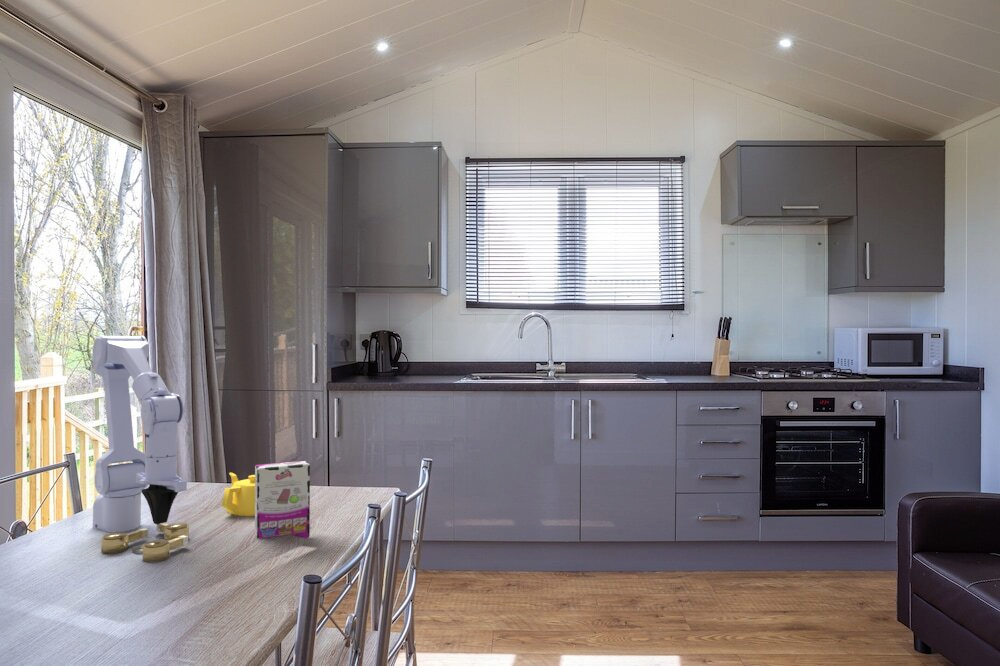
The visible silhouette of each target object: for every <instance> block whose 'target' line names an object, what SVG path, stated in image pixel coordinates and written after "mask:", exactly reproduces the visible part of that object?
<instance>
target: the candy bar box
mask: <svg viewBox="0 0 1000 666" xmlns="http://www.w3.org/2000/svg"><path fill="white" fill-rule="evenodd" d="M254 475H255V516H254V533H255V536H256V538H257V539H261V538H269V537H270V538H271V537H278V536H285V535H287V536H288V535H292V537H297V538H304V539H308V538H310V532H311V531H310V530H311V529H310V528H311V527H310V525H311V524H310V523H311V522H310V521H311V519H310V518H311V517H310V516H311V512H310V511H311V509H310V508H311V504H310V499H311V498H310V497H311V495H310V494H311V490H310V489H311V478H310V477H311V464H310V463H309V462H308V461H307V460H300V461H299V460H298V461H286V462H278V463H277V462H276V463H264V464H263V463H262V464H255V466H254Z"/></svg>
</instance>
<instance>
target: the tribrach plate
mask: <svg viewBox="0 0 1000 666" xmlns="http://www.w3.org/2000/svg"><path fill="white" fill-rule="evenodd" d="M143 545H144V543H142V544H139V545H136V546H134V547H133V548H132V550H131V551H132V553H133V554H135V555H142V549H143Z"/></svg>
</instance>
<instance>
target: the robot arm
mask: <svg viewBox="0 0 1000 666" xmlns="http://www.w3.org/2000/svg"><path fill="white" fill-rule="evenodd" d="M149 352H150V345H149V340H147V338H146V336H144V335H137V336H135V335H103V334H100V335H98V336H97V337H96V338H95V340H94V341H93V346H92V360H93V361H92V362H93V369H94V374H95V375H97V376H100V377H101V378H102V383H103V387H104V388H103V389H104V401H105V411H106V412H105V413H106V414H105V415H106V425H107V426H106V427H107V440H108V450H107V452H104V454H103V455H101V457H99V458H98V460H96V462H95V473H94V487H95V491H96V492H97V493H98V495H97V497H96V498H95V500H94V501H93V505H92V528H93V529H96V530H102V531H104V532H107V533H108V532H109V533H113V532H127V531H132V530H135V529H138V528H140V527H141V524H142V520H141V519H142V495H143V496H144V498H145V500H146V501H147V505H148V507H149V510H150V511H149V512H150V513H151V514H150V515H151V519H152V522H153V524H155V525H157V524H161V523H165V522H166V523H168V520H169V516H170V513H171V508H172V506H173V503H174V501H175V499H176V497H177V495H178V494H179V493H180V492H185V491H188V487H187V485H188V481H187V480H186V479H182V477H180V476H179V475H178V426H179V425H178V423H180V422H181V421H182V420H183V416H184V404H183V403H184V402H183V401H182V398H181V396H180V394H178V393H177V394H176V393H174V392H171V391H170V390H169V389H168V387H167V386H166V384H165V381H164V380H163V379H162V377H161V376H160V374H159V373H157V372H152V369H151V367H150V363H149V361H148V357H149V355H150V354H149ZM130 377H131V378H132V379H133V381H132V383H131V388H132V390H133V393H134V395H135V396H136V398H137V399H138V402H139V404H140V406H141V407H140V419H141V422H142V432H143V434H145V446H144V447H145V453H144V452H143V451H141V450H139V449H137V448H136V447H135V444H134V443H135V442H134V431H133V422H132V418H133V417H132V407H131V406H132V405H131V397H130V396H131V395H130V385H129V379H130ZM126 462H127V463H126ZM110 464H111V465H110Z"/></svg>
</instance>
